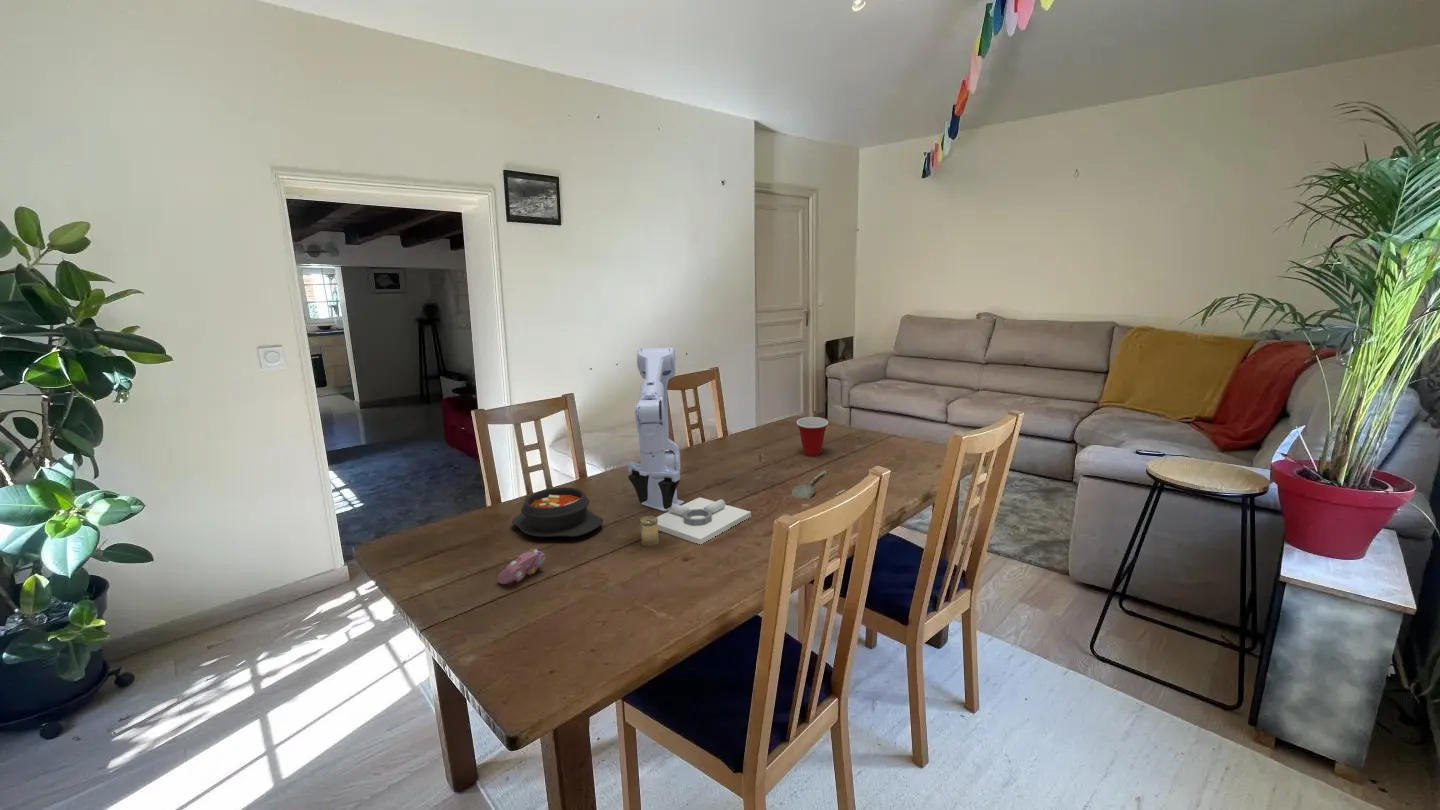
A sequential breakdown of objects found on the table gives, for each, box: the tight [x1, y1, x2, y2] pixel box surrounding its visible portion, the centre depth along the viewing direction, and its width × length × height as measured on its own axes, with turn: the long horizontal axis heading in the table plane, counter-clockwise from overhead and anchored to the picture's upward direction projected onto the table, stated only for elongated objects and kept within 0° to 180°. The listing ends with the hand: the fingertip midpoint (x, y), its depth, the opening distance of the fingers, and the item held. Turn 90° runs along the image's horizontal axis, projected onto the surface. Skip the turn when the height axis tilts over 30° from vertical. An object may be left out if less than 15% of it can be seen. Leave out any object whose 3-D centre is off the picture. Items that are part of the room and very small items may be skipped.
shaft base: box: [656, 496, 752, 546], centre depth 154 cm, size 18×20×4 cm
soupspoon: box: [791, 470, 827, 499], centre depth 177 cm, size 22×3×7 cm
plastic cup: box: [796, 416, 829, 457], centre depth 206 cm, size 11×11×12 cm
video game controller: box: [497, 548, 547, 585], centre depth 128 cm, size 10×5×7 cm, turn 148°
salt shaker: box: [639, 515, 659, 547], centre depth 143 cm, size 4×4×6 cm
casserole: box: [511, 487, 604, 538], centre depth 153 cm, size 25×19×8 cm
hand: (655, 504), depth 142 cm, fingers open, 7 cm apart
